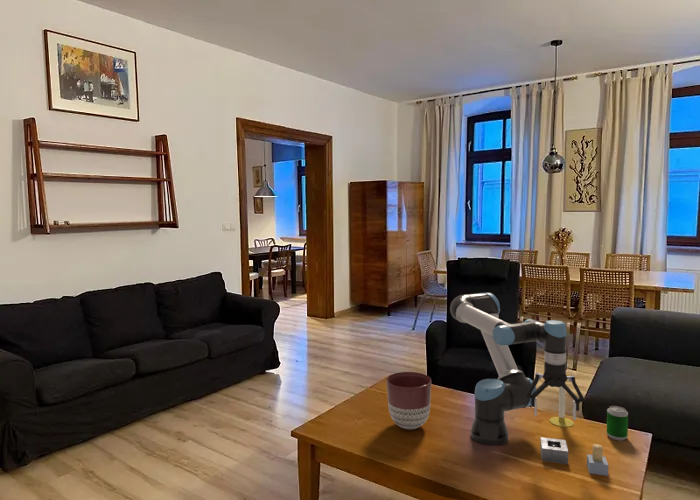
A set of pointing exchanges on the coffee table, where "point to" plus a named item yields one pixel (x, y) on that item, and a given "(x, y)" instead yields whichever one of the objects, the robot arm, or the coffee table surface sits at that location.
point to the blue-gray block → (597, 461)
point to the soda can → (617, 423)
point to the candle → (562, 411)
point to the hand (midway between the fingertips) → (554, 416)
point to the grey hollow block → (554, 450)
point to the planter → (409, 398)
